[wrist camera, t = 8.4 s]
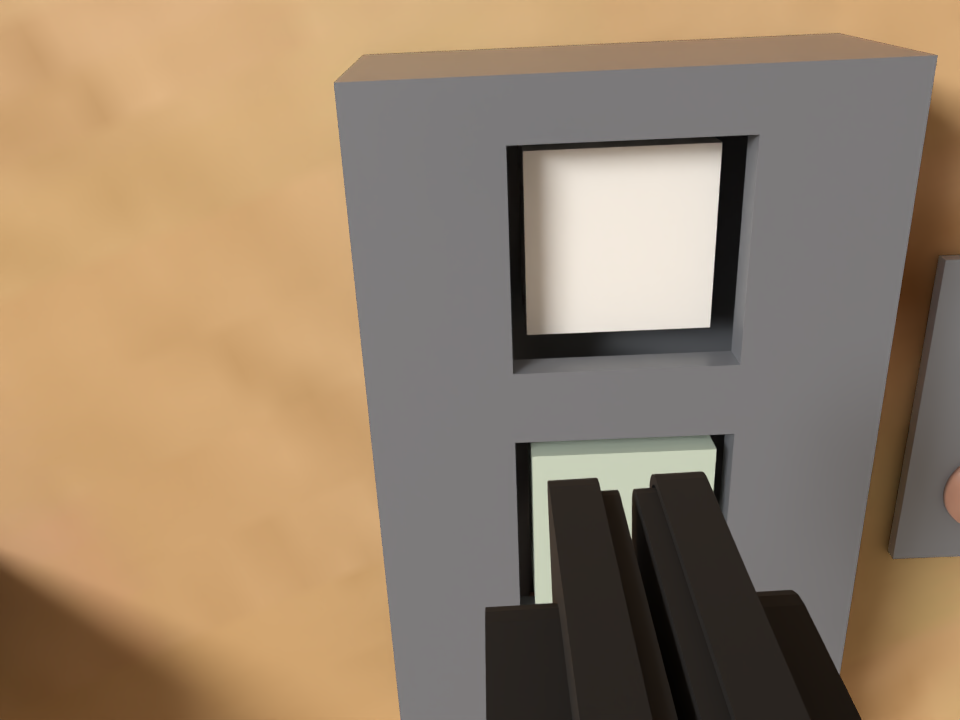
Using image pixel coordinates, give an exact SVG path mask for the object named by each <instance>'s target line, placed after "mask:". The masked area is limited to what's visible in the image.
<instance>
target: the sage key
mask: <svg viewBox="0 0 960 720" xmlns="http://www.w3.org/2000/svg"><path fill="white" fill-rule="evenodd" d="M716 450H717V449H716V447H715V445H714V443H713V441H712V439H711V437H710V435H695V436H671V437H646V438H622V439H597V440H572V441H548V442H528V481H529V523H530V552H531V563H532V573H533V584H534V594H535V604H542V603H552V582H551V560H550V538H549V515H548V491H547V482H548V481H549V480H565V479H582V478H598V481H599V484H600V488H601V491H605V490H618V491H619V493H620V496H621V500H622V504H623V508H624V512H625V516H626V520H627V524H628V527H629V531H630V535H631V539H632V492H633V489H638V488H649V484H650V478H651V475H652V474H664V473H681V472H698V471H702V472H704V473H705V475H706V476H707V478H708V480H709V483H710V485H711V488H712V490H714V477H715V463H716Z"/></svg>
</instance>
